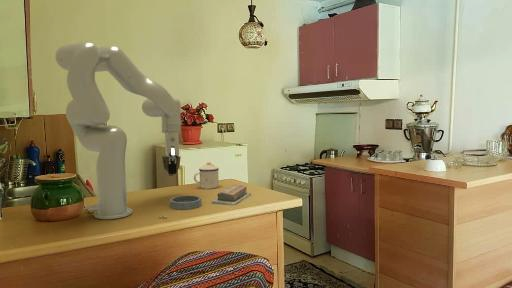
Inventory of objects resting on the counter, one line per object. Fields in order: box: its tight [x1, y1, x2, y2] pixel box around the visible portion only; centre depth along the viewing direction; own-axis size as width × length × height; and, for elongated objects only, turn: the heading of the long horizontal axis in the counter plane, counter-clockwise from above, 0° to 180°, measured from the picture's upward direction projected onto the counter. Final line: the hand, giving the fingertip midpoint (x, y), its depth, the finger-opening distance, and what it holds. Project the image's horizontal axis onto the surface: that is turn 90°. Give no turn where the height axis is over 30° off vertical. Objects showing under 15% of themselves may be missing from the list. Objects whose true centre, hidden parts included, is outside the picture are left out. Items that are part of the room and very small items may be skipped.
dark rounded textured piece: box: [161, 155, 182, 177], centre depth 163 cm, size 8×7×8 cm
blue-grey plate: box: [169, 194, 203, 211], centre depth 152 cm, size 12×12×2 cm
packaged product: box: [211, 184, 252, 206], centre depth 161 cm, size 18×5×10 cm
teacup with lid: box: [193, 161, 220, 190], centre depth 183 cm, size 12×9×12 cm
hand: (171, 172), depth 163 cm, fingers closed on dark rounded textured piece, 6 cm apart
